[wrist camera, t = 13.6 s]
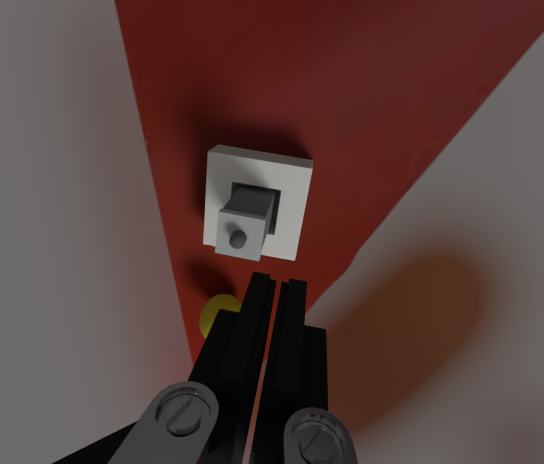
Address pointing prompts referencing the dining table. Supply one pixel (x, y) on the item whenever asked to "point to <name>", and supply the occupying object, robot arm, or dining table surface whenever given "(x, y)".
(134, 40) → the dining table surface
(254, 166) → the socket
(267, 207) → the plug
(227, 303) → the lemon
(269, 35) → the dining table surface
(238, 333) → the robot arm
